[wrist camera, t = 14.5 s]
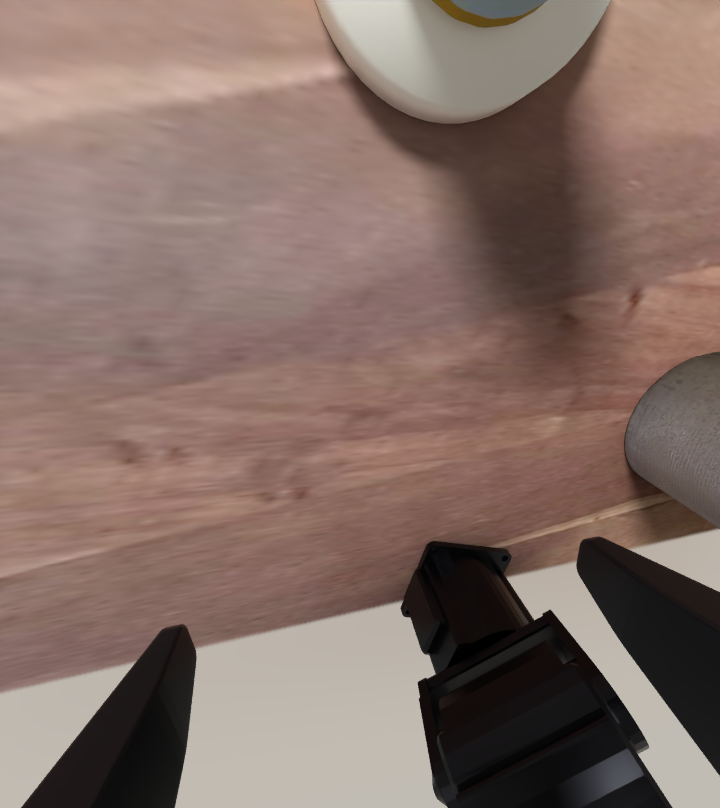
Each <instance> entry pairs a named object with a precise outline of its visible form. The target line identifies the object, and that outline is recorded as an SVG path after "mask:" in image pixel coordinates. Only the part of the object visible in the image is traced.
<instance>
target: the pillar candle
mask: <svg viewBox="0 0 720 808" xmlns="http://www.w3.org/2000/svg"><path fill="white" fill-rule="evenodd" d="M625 453H626V456H627V460H628V462H629V464H630V466H631V468H632V469H633V470H634V471H635V472H636V473H637V474H638V475H640V476H641V477H642V478H644V479H645V480H647V481H648V482H650V483H651V484H653V485H654V486H656V487H657V488H659V489H661V490H662V491H664V492H665V493H667V494H668V495H669V496H671V497H672V498H674V499H675V500H677V501H678V502H680V503H681V504H683V505H684V506H686V507H687V508H689V509H690V510H692V511H693V512H695V513H696V514H698V515H699V516H701V517H703V518H704V519H706V520H707V521H709V522H710V523H711V524H713V525H715V526H716V527H718V528H719V529H720V352H714V353H711V354H706V355H702V356H696V357H694V358H691V359H689V360H687V361H685V362H683V363H681V364H679V365H678V366H676V367H674V368H673V369H671V370H670V371H669V372H667V373H666V374H665V375H664V376H662V377H661V378H660V379H659V380H658V381H657V383H655V384H654V385H652V386H651V387H650V388H649V390H648V391H647V392H646V393H645V394H644V396H643V397H642V398H641V400H640V402H639V403H638V405H637V406H636V408H635V411H634V413H633V415H632V416H631V419H630V421H629V424H628V427H627V432H626V437H625Z"/></svg>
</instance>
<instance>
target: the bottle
mask: <svg viewBox="0 0 720 808" xmlns="http://www.w3.org/2000/svg"><path fill="white" fill-rule="evenodd" d="M432 1H433V2H434V3H435V4H437V5H438V6H439V7H440V8H441V9H442V10H444V11H445V12H446V13H447V14H448V15H449V16H451V17H453V18H454V19H456V20H458V21H461V22H464V23H467V24H470V25H473V26H476V27H482V28H489V27H498V26H507V25H510V24H513V23H515V22H517V21H519V20H520V19H522V18H524V17H526V16H527V15H529V14H531V13H533V12H534V11H536V10H537V9H538V8H539V7H541V6H542V5H543V4H544V3H545V2H546V1H547V0H432Z"/></svg>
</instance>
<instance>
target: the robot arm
mask: <svg viewBox="0 0 720 808" xmlns="http://www.w3.org/2000/svg"><path fill="white" fill-rule="evenodd" d="M433 549H434V550H433ZM510 560H511V554H510V553H509V552H508V551H507V550H506V549H500V548H491V547H482V546H473V545H464V544H455V543H446V542H437V541H432V542H430V543H428V544H427V546H426V548H425V550H424V552H423V555H422V557H421V560H420V562H419V564H418V567H417V569H416V570H415V572H414V574H413V577H412V579H411V581H410V584H409V586H408V589H407V591H406V594H405V596H404V601H403V603H402V606H401V611H402V614H403V616H404V617H411V620H412V623H413V626H414V629H415V632H416V635H417V638H418V641H419V644H420V647H421V650H422V652H423V653H424V654H427V655H430V658H431V661H432V664H433V667H434V670H435V673H436V675H434V676H432V677H430V678H428V679H427V678H424V679H423V680H421V681H419V682H418V688H419V693H420V698H419V702H420V708H421V713H422V719H423V725H424V730H425V736H426V741H427V747H428V753H429V758H430V763H431V770H432V781H433V789H434V793H435V795H436V797H437V799H438V800H439V801H440V802H442V803H443V804H444V805H446V806H447V807H448V808H672V806H671V805H670V804H669V802H668V800H667V799H666V797H665V796H664V794H663V793H662V791H661V790H660V788H659V786H658V785H657V783H656V782H655V780H654V779H653V777H652V776H651V774H650V773H649V771H648V770H647V768H646V767H645V765H644V763H643V762H642V760H641V759H640V757H639V756H638V754H637V753H640V752H642V751H644V750H646V749H648V748H649V745H648V743H647V741H646V739H645V737H644V736H643V734H642V732H641V730H640V729H639V727H638V725H637V724H636V722H635V721H634V719H633V718H632V716H631V714H630V713H629V711H628V710H627V708H626V707H625V705H624V704H623V703H622V701H621V700H620V698H619V697H618V695H617V694H616V692H615V691H614V690H613V688H612V687H611V685H610V684H609V683H608V681H607V680H606V679H605V677H604V676H603V675H602V673H601V672H600V671H599V669H598V668H597V667H596V666H595V664H594V663H593V662H592V660H591V659H590V658H589V657H588V655H587V654H586V653H585V652H584V651H583V649H582V648H581V647H580V646H579V644H578V643H577V642H576V641H575V639H574V638H573V637H572V636H571V634H570V633H569V632H568V631H567V629H566V628H565V627H564V626H563V624H562V623H561V622H560V621H559V619H558V618H557V617H556V616H555V615H554V613H553V612H552V611H551V610H549V611H547V612H545V613H543V616H542V617H540V618H538V619H536V620H534V619H533V618H532V616H531V615H530V613H529V612H528V610H527V609H526V607H525V606H524V604H523V603H522V601H521V599H520V598H519V597H518V595H517V593H516V592H515V591H514V589H513V587H512V586H511V584H510V583H509V581H508V580H507V578H506V577H505V575H504V572H505V570H506V568H507V566H508V564H509V562H510ZM576 566H577V571H578V573H579V576H580V578H581V579H582V581H583V582H584V584H585V586H586V587H587V589H588V590H589V592H590V594H591V595H592V597H593V598H594V600H595V602H596V603H597V605H598V607H599V608H600V610H601V611H602V613H603V615H604V616H605V618H606V620H607V621H608V623H609V624H610V626H611V628H612V629H613V631H614V632H615V634H616V635H617V637H618V638H619V640H620V641H621V643H622V644H623V646H624V647H625V648H626V650H627V651H628V653H629V654H630V655H631V657H632V658H633V659H634V661H635V662H636V663H637V665H638V666H639V667H640V669H641V670H642V672H643V673H644V674H645V675H646V677H647V678H648V680H649V681H650V682H651V684H652V685H653V686H654V688H655V689H656V690H657V692H658V693H659V694H660V696H661V697H662V698H663V700H664V701H665V703H666V704H667V705H668V707H669V708H670V709H671V711H672V712H673V713H674V715H675V716H676V717H677V719H678V720H679V721H680V723H681V724H682V725H683V727H684V728H685V729H686V731H687V732H688V733H689V735H690V736H691V738H692V739H693V740H694V742H695V743H696V744H697V746H698V747H699V748H700V750H701V751H702V752H703V754H704V755H705V756H706V758H707V759H708V761H709V762H710V763H711V764H712V766H713V767H714V769H715V770H716V771H717V773H718V774H719V775H720V592H718V591H716V590H714V589H712V588H709V587H707V586H705V585H703V584H701V583H699V582H697V581H695V580H692V579H690V578H688V577H686V576H684V575H682V574H680V573H677V572H675V571H673V570H671V569H669V568H667V567H665V566H662V565H660V564H658V563H656V562H654V561H652V560H650V559H647V558H645V557H643V556H641V555H639V554H637V553H635V552H632V551H630V550H628V549H626V548H624V547H622V546H620V545H617V544H615V543H613V542H611V541H609V540H607V539H605V538H602V537H592V538H587V539H584V540H582V541H581V543H580V547H579V553H578V559H577V565H576ZM195 668H196V650H195V647H194V644H193V642H192V639H191V637H190V634H189V632H188V629H187V627H186V626H185V625H184V624H180V625H175V626H170V627H166V628H164V629H163V630H161V631H160V632H159V634H158V635H157V636H156V637H155V639H154V640H153V641H152V643H151V644H150V645H149V646H148V648H147V649H146V650H145V651H144V653H143V654H142V655H141V656H140V658H139V659H138V660H137V662H136V663H135V664H134V665H133V667H132V668H131V669H130V670H129V672H128V673H127V674H126V676H125V677H124V678H123V679H122V681H121V682H120V683H119V684H118V686H117V687H116V688H115V690H114V691H113V692H112V693H111V694H110V696H109V697H108V698H107V700H106V701H105V702H104V703H103V705H102V706H101V707H100V709H99V710H98V711H97V712H96V714H95V715H94V716H93V717H92V719H91V720H90V721H89V722H88V724H87V725H86V726H85V727H84V729H83V730H82V731H81V733H80V734H79V735H78V736H77V738H76V739H75V740H74V741H73V743H72V744H71V745H70V746H69V748H68V749H67V750H66V751H65V753H64V754H63V755H62V757H61V758H60V759H59V760H58V762H57V763H56V764H55V766H54V767H53V768H52V769H51V770H50V772H49V773H48V774H47V776H46V777H45V778H44V779H43V781H42V782H41V783H40V784H39V786H38V787H37V789H35V791H34V792H33V793H32V795H31V796H30V797H29V798H28V800H27V801H26V802H25V803H24V805H23V806H22V807H21V808H175V804H176V799H177V794H178V789H179V784H180V779H181V774H182V770H183V764H184V758H185V754H186V747H187V739H188V731H189V722H190V713H191V704H192V695H193V686H194V677H195Z"/></svg>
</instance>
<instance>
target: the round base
mask: <svg viewBox="0 0 720 808" xmlns="http://www.w3.org/2000/svg"><path fill="white" fill-rule="evenodd" d="M610 1H611V0H547V1H546V2H545V3H544V4H543V5H542V6H541V7H539V8H538V9H537V10H536V11H534V12H533V13H531V14H529V15H527V16H526V17H524V18H522V19H520V20H519V21H517V22H515V23H513V24H510V25H507V26H498V27H489V28H482V27H476V26H473V25H470V24H467V23H464V22H461V21H458V20H456V19H454V18H453V17H451V16H449V15H448V14H447V13H446V12H445V11H444V10H442V9H441V8H440V7H439V6H438V5H437V4H435V3H434V2H433V1H432V0H315V2H316V4H317V7H318V10H319V12H320V15H321V18H322V20H323V22H324V24H325V26H326V28H327V30H328V32H329V34H330V36H331V38H332V40H333V42H334V44H335V46H336V47H337V49H338V50H339V52H340V53H341V55H342V57H343V58H344V60H345V61H346V63H347V64H348V65H349V67H350V68H351V69H352V70H353V72H354V73H355V74H356V75H357V76H358V78H359V79H360V80H361V81H362V82H363V83H364V84H365V85H366V86H367V87H368V88H369V89H370V90H371V91H372V92H373V93H374V94H375V95H377V96H378V97H379V98H381V99H382V100H383V101H385V102H386V103H388V104H389V105H390V106H392V107H394V108H395V109H397V110H399V111H401V112H403V113H405V114H407V115H409V116H412V117H415V118H418V119H421V120H424V121H428V122H435V123H441V124H461V123H467V122H472V121H477V120H480V119H483V118H486V117H489V116H492V115H494V114H496V113H498V112H500V111H502V110H504V109H505V108H507V107H509V106H511V105H512V104H514V103H515V102H517V101H518V100H520V99H521V98H523V97H524V96H526V95H527V94H529V93H530V92H532V91H533V90H535V89H536V88H537V87H539V86H540V85H542V84H543V83H544V82H546V81H547V80H549V79H550V78H551V77H553V76H554V75H555V74H556V73H557V72H558V71H559V70H560V69H561V68H562V67H564V66H565V65H566V64H567V63H568V62H569V61H570V60H571V58H572V57H573V56H574V55H575V54H576V53H577V51H578V50H579V49H580V48H581V47H582V46H583V44H584V43H585V42H586V40H587V39H588V37H589V36H590V34H591V33H592V31H593V30H594V29H595V27H596V26H597V24H598V23H599V21H600V19H601V17H602V15H603V14H604V12H605V10H606V8H607V6H608V4H609V3H610Z"/></svg>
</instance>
